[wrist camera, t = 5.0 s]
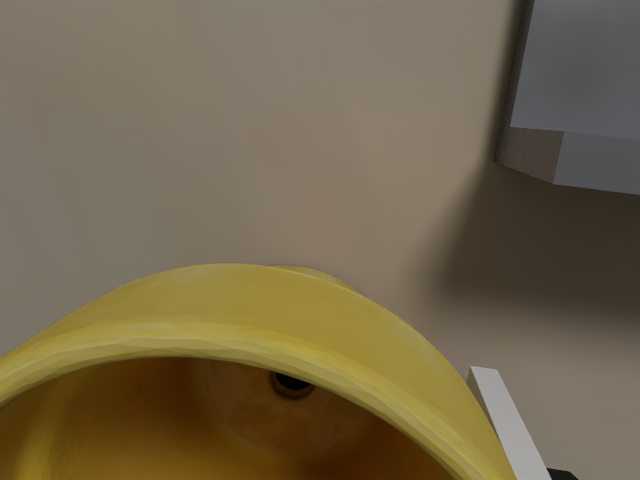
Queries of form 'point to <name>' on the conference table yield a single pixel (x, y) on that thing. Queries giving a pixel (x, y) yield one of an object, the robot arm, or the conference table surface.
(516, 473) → the robot arm
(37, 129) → the conference table surface
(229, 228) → the conference table surface
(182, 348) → the plant pot
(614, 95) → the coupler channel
